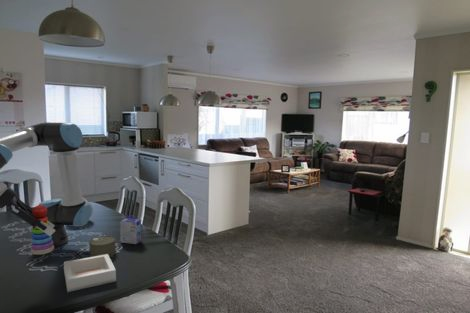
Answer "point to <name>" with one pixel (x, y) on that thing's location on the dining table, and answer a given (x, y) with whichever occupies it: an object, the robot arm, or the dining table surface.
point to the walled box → (89, 272)
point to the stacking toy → (41, 233)
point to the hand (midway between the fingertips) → (52, 230)
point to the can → (102, 246)
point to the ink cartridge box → (130, 230)
